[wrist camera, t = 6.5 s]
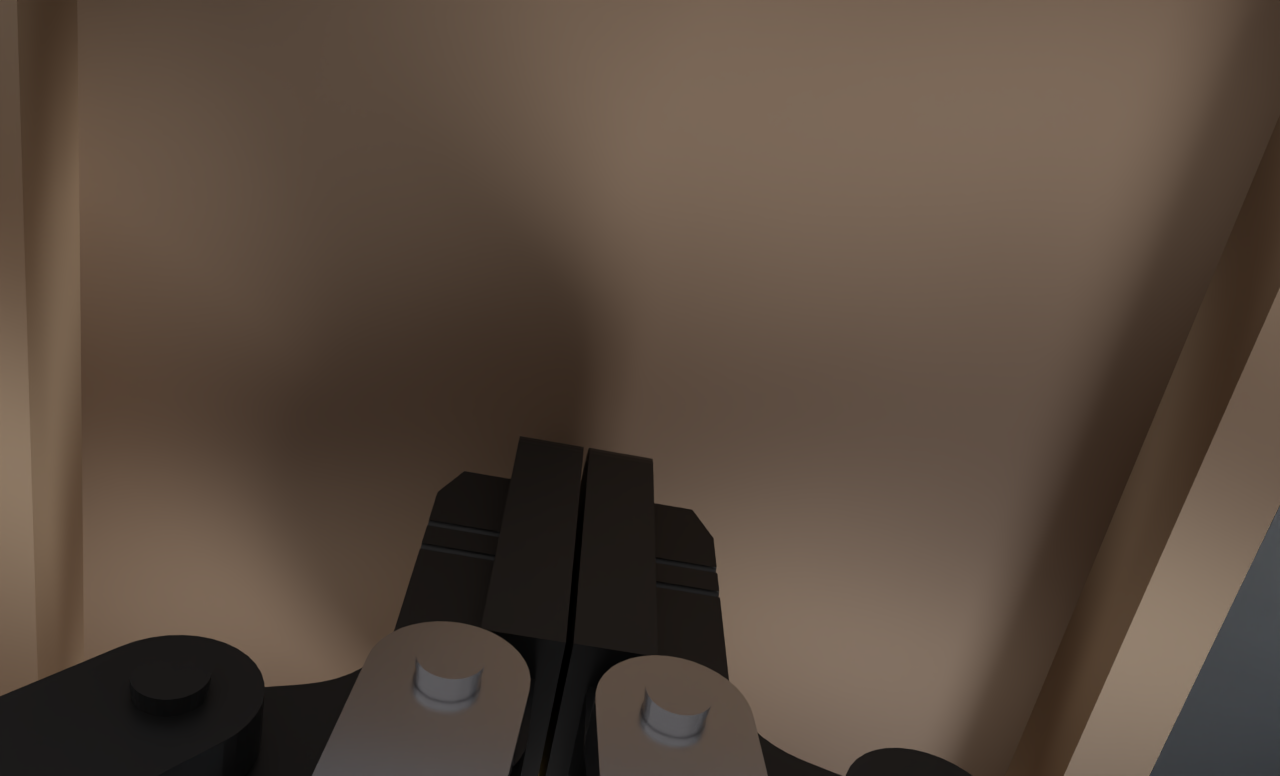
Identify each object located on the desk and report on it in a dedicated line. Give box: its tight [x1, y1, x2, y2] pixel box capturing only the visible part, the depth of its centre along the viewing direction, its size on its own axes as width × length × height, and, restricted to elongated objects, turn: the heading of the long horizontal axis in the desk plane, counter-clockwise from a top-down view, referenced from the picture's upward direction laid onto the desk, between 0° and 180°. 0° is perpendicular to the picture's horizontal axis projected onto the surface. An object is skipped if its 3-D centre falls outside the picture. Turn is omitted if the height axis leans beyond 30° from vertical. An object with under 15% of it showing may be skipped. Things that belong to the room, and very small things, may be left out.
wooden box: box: [0, 0, 1280, 776], centre depth 17 cm, size 20×14×6 cm
